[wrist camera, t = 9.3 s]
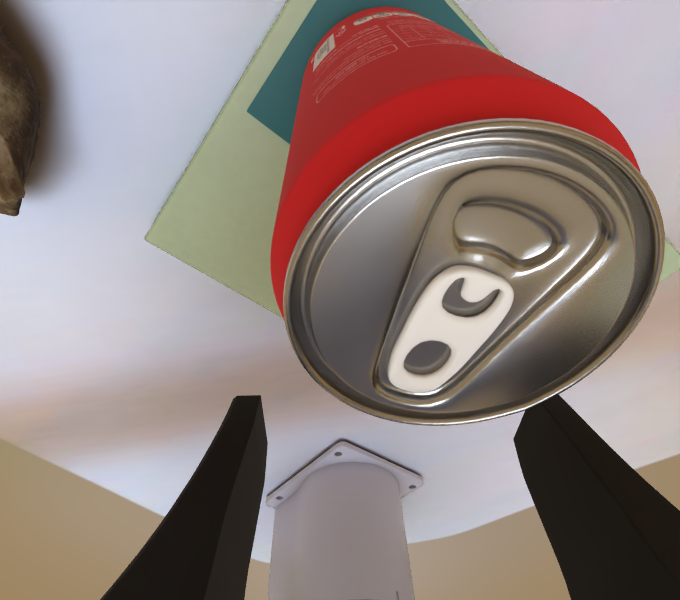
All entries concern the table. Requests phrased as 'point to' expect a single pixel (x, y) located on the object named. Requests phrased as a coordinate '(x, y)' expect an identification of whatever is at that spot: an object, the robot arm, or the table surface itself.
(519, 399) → the beverage can
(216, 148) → the board
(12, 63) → the brown rock
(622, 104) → the table surface
